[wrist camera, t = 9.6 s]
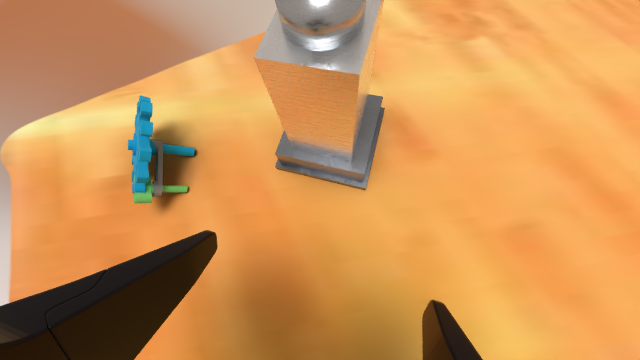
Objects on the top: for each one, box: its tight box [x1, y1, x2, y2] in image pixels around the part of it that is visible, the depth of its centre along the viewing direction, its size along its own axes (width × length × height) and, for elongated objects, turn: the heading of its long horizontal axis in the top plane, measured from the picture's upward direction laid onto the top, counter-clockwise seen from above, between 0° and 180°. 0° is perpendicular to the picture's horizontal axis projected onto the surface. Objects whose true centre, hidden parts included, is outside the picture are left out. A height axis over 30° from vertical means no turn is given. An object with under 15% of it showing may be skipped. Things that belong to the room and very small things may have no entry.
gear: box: [128, 96, 195, 203], centre depth 25 cm, size 11×6×10 cm
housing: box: [254, 0, 384, 162], centre depth 18 cm, size 7×6×13 cm
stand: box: [275, 94, 385, 190], centre depth 25 cm, size 10×10×3 cm
